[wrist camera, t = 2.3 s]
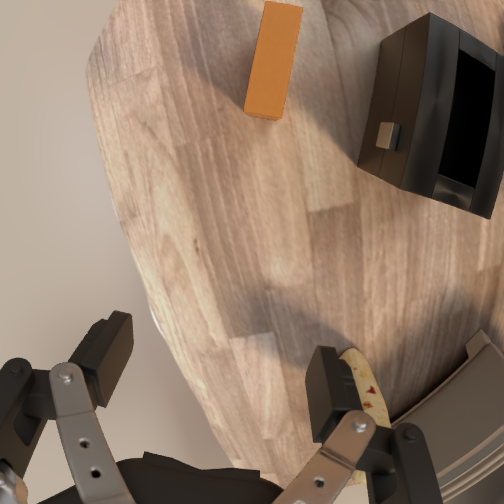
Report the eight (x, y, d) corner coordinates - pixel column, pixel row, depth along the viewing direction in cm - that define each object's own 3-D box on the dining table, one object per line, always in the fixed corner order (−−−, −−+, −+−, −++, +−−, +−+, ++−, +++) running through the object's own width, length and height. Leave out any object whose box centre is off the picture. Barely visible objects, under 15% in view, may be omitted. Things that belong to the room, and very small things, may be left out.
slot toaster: (456, 74, 27) (517, 67, 16) (433, 190, 33) (490, 220, 22) (374, 38, 26) (421, 7, 15) (350, 165, 33) (390, 186, 22)
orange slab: (292, 38, 27) (303, 7, 18) (276, 120, 31) (281, 118, 22) (265, 33, 27) (265, 0, 18) (248, 115, 31) (242, 111, 22)
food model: (329, 344, 43) (356, 462, 24) (372, 340, 42) (414, 450, 24) (324, 387, 47) (341, 493, 28) (362, 383, 46) (390, 484, 28)
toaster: (519, 349, 44) (564, 410, 26) (408, 445, 56) (428, 512, 38) (493, 313, 40) (555, 388, 22) (360, 431, 52) (378, 515, 34)
